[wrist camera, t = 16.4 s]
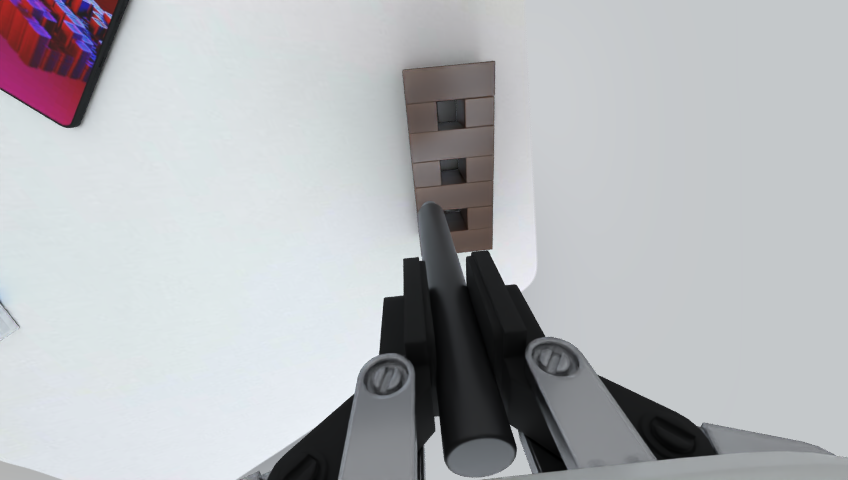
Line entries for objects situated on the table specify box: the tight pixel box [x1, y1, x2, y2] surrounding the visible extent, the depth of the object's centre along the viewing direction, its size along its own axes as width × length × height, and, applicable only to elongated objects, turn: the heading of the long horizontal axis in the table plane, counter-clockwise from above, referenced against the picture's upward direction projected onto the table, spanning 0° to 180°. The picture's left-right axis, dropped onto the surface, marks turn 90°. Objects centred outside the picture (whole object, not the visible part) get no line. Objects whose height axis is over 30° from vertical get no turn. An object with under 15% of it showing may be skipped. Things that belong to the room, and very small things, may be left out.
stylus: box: [418, 201, 517, 477], centre depth 13 cm, size 2×2×14 cm
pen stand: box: [402, 61, 495, 256], centre depth 31 cm, size 17×7×5 cm, turn 5°
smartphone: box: [0, 0, 129, 128], centre depth 26 cm, size 8×1×15 cm
